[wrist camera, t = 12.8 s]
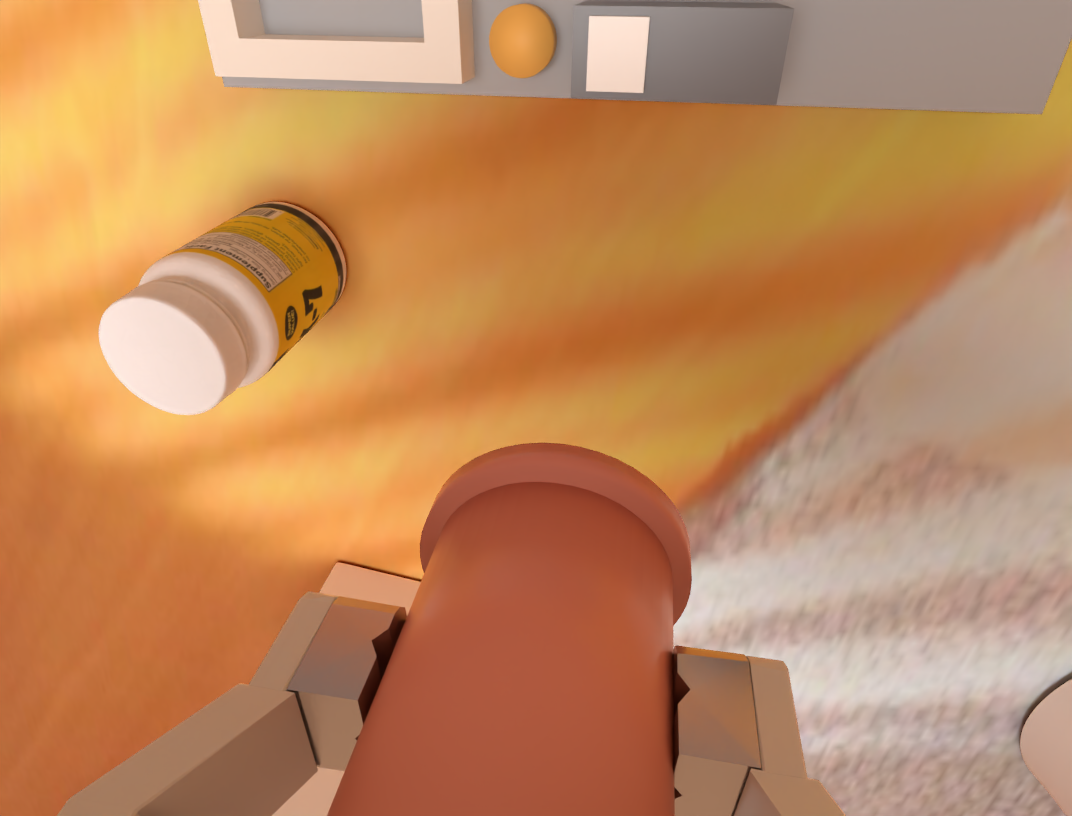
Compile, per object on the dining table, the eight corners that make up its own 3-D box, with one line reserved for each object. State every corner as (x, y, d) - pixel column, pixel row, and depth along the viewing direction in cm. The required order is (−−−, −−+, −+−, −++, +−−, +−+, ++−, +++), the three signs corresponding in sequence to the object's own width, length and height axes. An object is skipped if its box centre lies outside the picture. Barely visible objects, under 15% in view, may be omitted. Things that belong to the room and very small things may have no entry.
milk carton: (337, 558, 36) (81, 1010, 20) (464, 589, 36) (303, 1074, 20) (338, 639, 40) (125, 1069, 24) (453, 668, 40) (312, 1123, 24)
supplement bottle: (318, 334, 28) (204, 452, 21) (219, 265, 27) (66, 366, 20) (370, 251, 26) (261, 355, 19) (264, 171, 25) (106, 250, 18)
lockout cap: (710, 460, 10) (751, 920, 5) (672, 651, 13) (674, 1083, 8) (420, 428, 11) (211, 815, 6) (438, 617, 13) (303, 999, 8)
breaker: (777, 3, 18) (795, 9, 15) (762, 87, 19) (777, 106, 16) (586, 0, 18) (572, 5, 16) (583, 81, 19) (569, 99, 17)
